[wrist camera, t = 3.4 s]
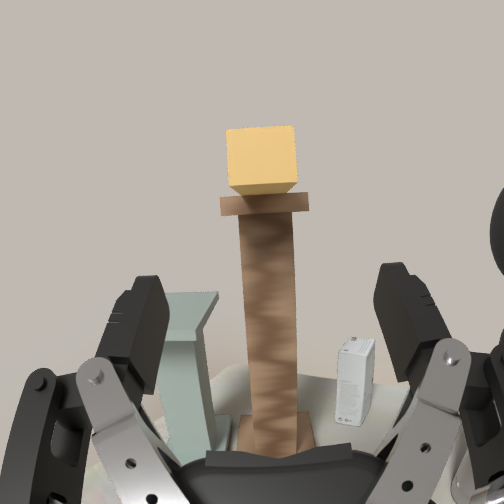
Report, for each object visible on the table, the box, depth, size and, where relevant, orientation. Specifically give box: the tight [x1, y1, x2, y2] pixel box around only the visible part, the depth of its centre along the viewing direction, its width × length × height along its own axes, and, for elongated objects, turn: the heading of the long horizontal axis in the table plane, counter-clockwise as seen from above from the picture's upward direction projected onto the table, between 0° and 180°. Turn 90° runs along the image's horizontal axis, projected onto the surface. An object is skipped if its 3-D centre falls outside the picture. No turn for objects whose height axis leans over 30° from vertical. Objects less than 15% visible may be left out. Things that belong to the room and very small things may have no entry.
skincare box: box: [335, 337, 375, 427], centre depth 41 cm, size 6×4×12 cm
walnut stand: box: [220, 192, 315, 458], centre depth 34 cm, size 10×14×32 cm
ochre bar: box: [226, 126, 298, 196], centre depth 26 cm, size 4×22×3 cm, turn 178°
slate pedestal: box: [156, 291, 232, 466], centre depth 35 cm, size 8×14×21 cm, turn 178°
